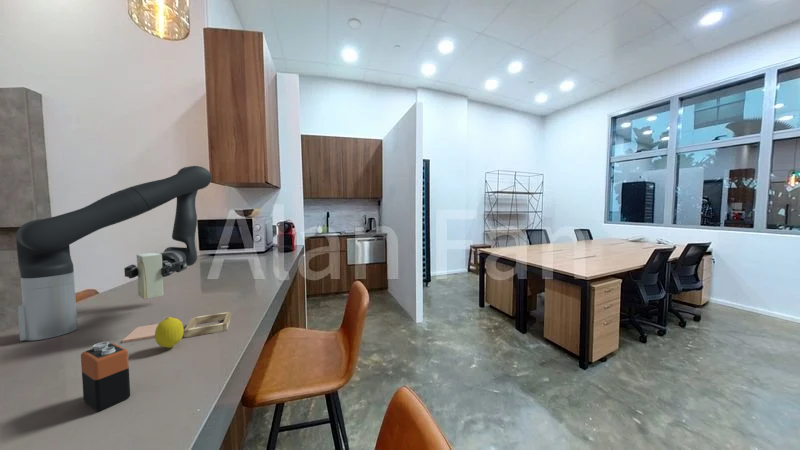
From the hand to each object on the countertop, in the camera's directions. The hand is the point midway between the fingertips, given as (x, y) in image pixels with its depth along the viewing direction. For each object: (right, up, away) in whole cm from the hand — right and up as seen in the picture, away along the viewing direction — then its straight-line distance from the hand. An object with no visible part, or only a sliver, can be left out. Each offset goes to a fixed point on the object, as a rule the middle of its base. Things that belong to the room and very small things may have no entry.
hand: (147, 273), depth 75 cm
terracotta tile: (-1, -18, +3) cm, 18 cm away
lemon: (+13, -18, -7) cm, 23 cm away
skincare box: (-1, -7, +2) cm, 8 cm away
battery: (+17, -19, -26) cm, 36 cm away
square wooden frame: (+13, -17, +6) cm, 23 cm away
